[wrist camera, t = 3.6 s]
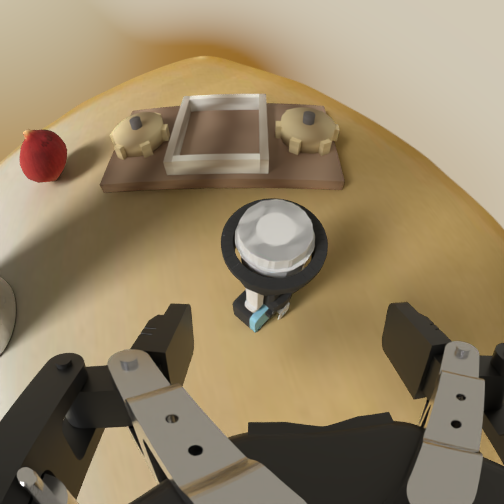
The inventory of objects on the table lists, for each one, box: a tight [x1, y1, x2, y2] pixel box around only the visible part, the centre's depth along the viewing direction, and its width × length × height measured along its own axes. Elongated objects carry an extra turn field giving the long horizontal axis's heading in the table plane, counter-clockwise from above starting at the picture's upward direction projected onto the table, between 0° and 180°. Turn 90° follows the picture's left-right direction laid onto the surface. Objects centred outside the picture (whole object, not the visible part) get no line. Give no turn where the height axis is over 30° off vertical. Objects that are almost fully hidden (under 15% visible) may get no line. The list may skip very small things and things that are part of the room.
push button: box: [221, 199, 328, 333], centre depth 19 cm, size 7×5×10 cm
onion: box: [20, 129, 67, 183], centre depth 27 cm, size 6×6×8 cm
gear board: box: [100, 94, 345, 193], centre depth 30 cm, size 25×13×4 cm, turn 90°
